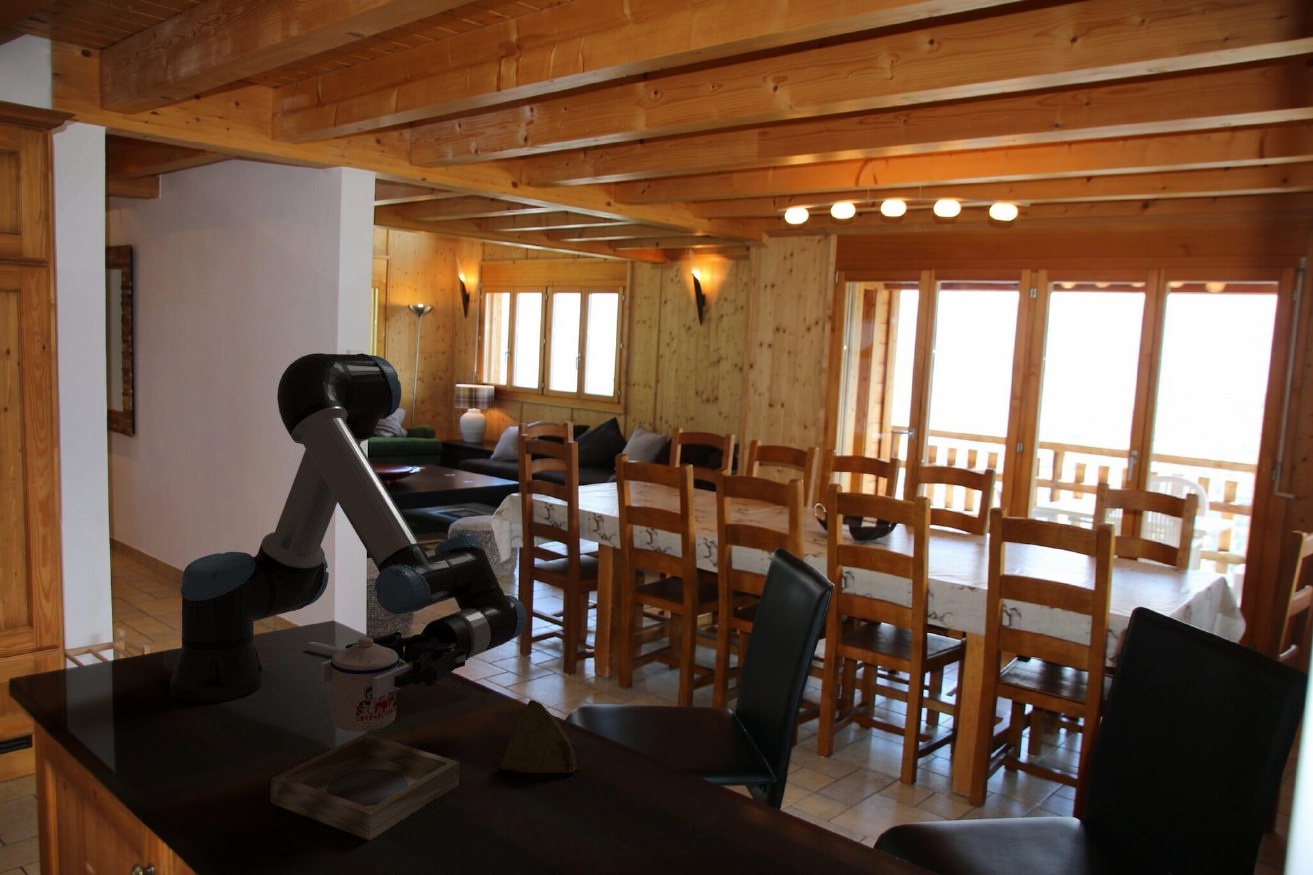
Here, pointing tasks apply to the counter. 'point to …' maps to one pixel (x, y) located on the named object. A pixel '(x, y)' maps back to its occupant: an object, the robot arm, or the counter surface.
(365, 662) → the teacup with lid
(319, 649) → the marker
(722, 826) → the counter surface
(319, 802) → the housing tray
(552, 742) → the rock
